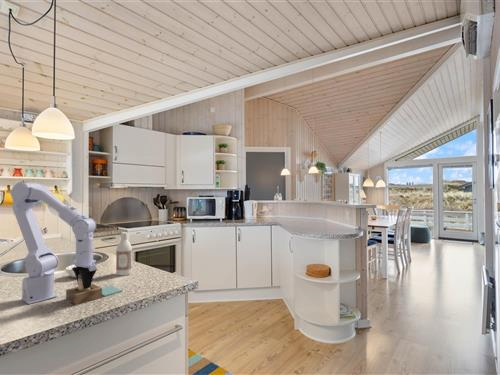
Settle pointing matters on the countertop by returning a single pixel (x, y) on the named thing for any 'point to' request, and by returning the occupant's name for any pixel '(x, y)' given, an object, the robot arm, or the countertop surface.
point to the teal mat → (110, 291)
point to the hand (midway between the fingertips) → (84, 286)
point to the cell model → (70, 270)
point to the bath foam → (124, 256)
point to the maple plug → (81, 284)
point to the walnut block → (83, 294)
